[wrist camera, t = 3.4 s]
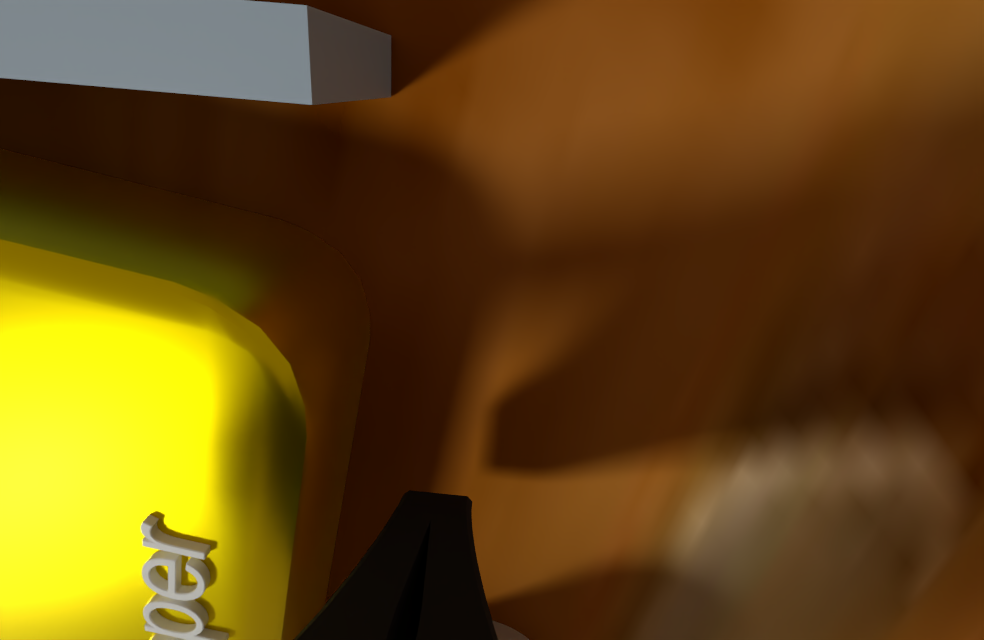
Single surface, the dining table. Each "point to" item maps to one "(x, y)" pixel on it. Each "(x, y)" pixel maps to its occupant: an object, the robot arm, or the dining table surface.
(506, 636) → the jar
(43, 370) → the element tile
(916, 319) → the dining table surface
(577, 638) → the dining table surface
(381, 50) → the gray tray
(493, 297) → the dining table surface
